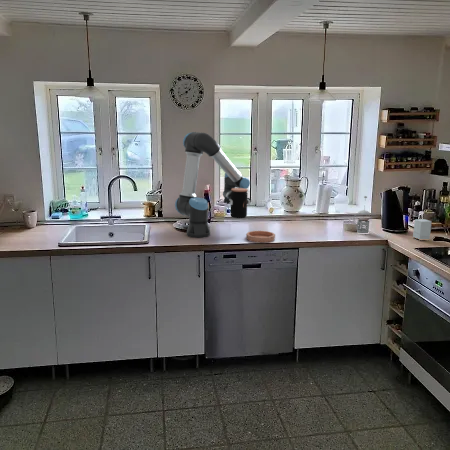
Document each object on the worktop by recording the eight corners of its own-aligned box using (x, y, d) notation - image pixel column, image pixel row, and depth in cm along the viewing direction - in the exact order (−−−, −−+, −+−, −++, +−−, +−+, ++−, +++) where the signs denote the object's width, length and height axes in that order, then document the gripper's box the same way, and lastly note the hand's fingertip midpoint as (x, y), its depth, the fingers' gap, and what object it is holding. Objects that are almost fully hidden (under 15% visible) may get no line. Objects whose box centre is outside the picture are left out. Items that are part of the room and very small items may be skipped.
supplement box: (429, 241, 274) (432, 221, 271) (419, 241, 273) (421, 221, 270) (422, 238, 281) (425, 218, 278) (412, 238, 280) (414, 219, 277)
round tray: (251, 242, 262) (251, 238, 261) (243, 235, 279) (243, 231, 278) (278, 241, 266) (278, 237, 265) (269, 234, 282) (269, 230, 282)
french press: (366, 235, 285) (370, 197, 279) (349, 232, 292) (352, 195, 286) (372, 232, 293) (375, 195, 287) (355, 229, 300) (358, 194, 294)
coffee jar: (245, 219, 275) (246, 190, 271) (228, 217, 277) (229, 189, 273) (247, 215, 285) (248, 188, 281) (231, 214, 287) (232, 187, 283)
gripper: (248, 202, 299) (257, 208, 278) (215, 202, 294) (222, 208, 273) (249, 191, 297) (258, 196, 276) (216, 191, 292) (222, 196, 271)
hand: (240, 202), depth 275 cm, fingers closed on coffee jar, 11 cm apart
